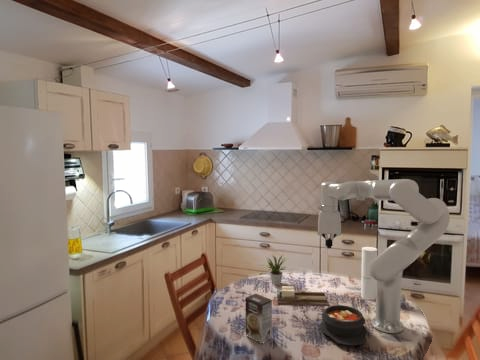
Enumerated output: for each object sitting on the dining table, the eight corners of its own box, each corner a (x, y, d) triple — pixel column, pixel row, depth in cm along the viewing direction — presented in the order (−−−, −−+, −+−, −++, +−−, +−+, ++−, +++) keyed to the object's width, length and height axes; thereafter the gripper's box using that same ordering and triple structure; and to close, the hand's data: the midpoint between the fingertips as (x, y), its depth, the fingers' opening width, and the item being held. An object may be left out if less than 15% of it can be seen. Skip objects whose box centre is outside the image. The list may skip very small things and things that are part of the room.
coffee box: (245, 335, 141) (244, 297, 140) (255, 329, 146) (255, 292, 144) (261, 344, 135) (261, 304, 133) (272, 338, 139) (272, 299, 138)
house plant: (290, 278, 202) (290, 251, 201) (291, 288, 189) (291, 258, 187) (266, 278, 204) (265, 250, 202) (265, 287, 190) (265, 258, 188)
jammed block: (294, 299, 172) (294, 291, 171) (282, 299, 172) (282, 291, 172) (293, 294, 177) (293, 286, 177) (281, 294, 178) (281, 286, 178)
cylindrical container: (378, 300, 173) (379, 250, 170) (363, 300, 173) (364, 250, 170) (373, 294, 180) (374, 246, 177) (359, 294, 180) (359, 246, 178)
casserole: (378, 349, 131) (378, 328, 130) (329, 351, 130) (329, 329, 129) (354, 317, 156) (354, 299, 155) (313, 318, 155) (313, 300, 154)
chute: (327, 305, 167) (327, 297, 167) (277, 304, 169) (277, 296, 169) (323, 295, 179) (324, 287, 179) (277, 294, 181) (277, 286, 181)
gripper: (313, 210, 158) (313, 249, 160) (347, 210, 157) (347, 250, 158) (311, 207, 165) (311, 245, 167) (344, 207, 164) (343, 245, 166)
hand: (328, 247), depth 163 cm, fingers closed
